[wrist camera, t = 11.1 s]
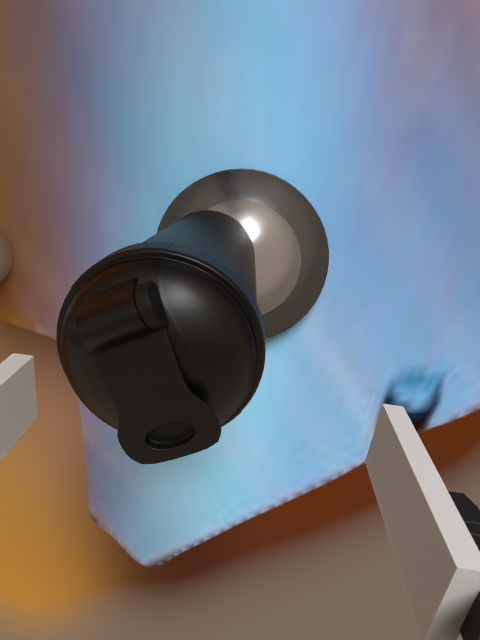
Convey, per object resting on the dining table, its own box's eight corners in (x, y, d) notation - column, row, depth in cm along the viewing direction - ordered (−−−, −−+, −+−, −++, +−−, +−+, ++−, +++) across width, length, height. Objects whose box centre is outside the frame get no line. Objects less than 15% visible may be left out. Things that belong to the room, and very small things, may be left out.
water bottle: (181, 323, 41) (95, 508, 20) (134, 224, 38) (-30, 321, 17) (280, 288, 40) (299, 450, 18) (239, 181, 36) (205, 226, 15)
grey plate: (163, 157, 38) (158, 157, 36) (342, 181, 38) (346, 182, 36) (155, 322, 44) (149, 330, 42) (308, 343, 44) (311, 352, 42)
